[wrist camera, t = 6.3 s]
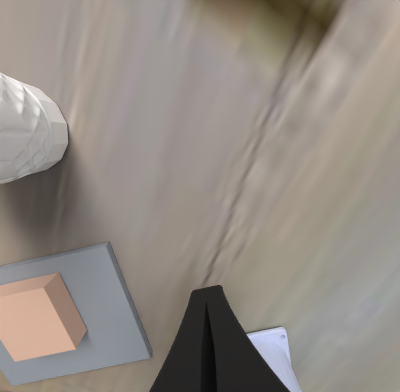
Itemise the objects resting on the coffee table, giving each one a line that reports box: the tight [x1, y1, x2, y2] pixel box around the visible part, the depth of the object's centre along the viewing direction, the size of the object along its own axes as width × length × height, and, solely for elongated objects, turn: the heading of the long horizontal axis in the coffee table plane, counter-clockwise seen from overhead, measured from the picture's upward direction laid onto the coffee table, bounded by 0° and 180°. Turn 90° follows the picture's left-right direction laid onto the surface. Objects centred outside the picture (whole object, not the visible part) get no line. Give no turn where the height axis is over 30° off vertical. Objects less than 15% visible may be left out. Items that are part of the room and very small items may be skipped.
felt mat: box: [0, 242, 152, 386], centre depth 21 cm, size 14×16×1 cm
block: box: [0, 272, 87, 362], centre depth 19 cm, size 7×2×6 cm
